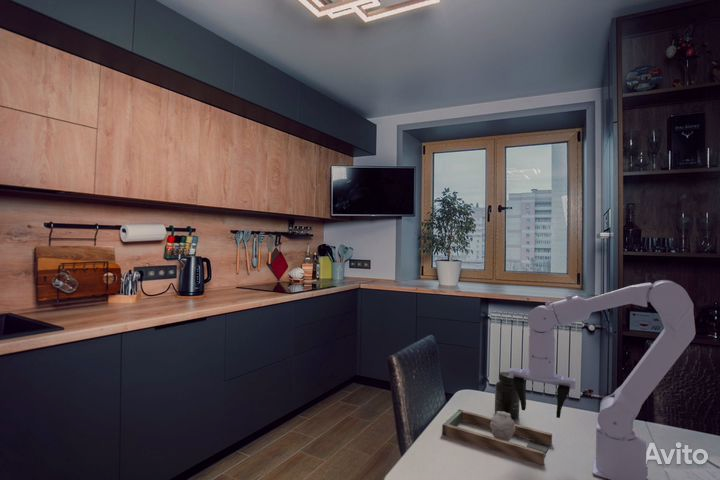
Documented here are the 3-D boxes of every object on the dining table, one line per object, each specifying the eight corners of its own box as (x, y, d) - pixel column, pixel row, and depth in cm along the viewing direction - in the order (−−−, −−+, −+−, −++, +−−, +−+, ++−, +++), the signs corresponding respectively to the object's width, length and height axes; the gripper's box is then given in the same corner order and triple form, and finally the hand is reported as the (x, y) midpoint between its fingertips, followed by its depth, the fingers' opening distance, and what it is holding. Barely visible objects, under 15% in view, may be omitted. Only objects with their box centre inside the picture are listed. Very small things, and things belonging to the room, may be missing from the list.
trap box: (551, 443, 100) (552, 433, 100) (543, 465, 90) (543, 454, 90) (458, 418, 113) (459, 409, 113) (442, 434, 103) (442, 424, 103)
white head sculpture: (517, 438, 102) (517, 411, 102) (512, 450, 96) (513, 421, 96) (492, 432, 105) (493, 405, 105) (486, 443, 99) (487, 415, 99)
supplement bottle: (521, 421, 112) (522, 379, 113) (496, 418, 114) (497, 376, 114) (516, 412, 119) (517, 371, 119) (493, 409, 120) (494, 369, 121)
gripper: (576, 357, 96) (575, 413, 96) (513, 348, 103) (512, 400, 103) (574, 364, 90) (574, 424, 90) (507, 354, 97) (506, 409, 97)
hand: (540, 412), depth 96 cm, fingers open, 7 cm apart
